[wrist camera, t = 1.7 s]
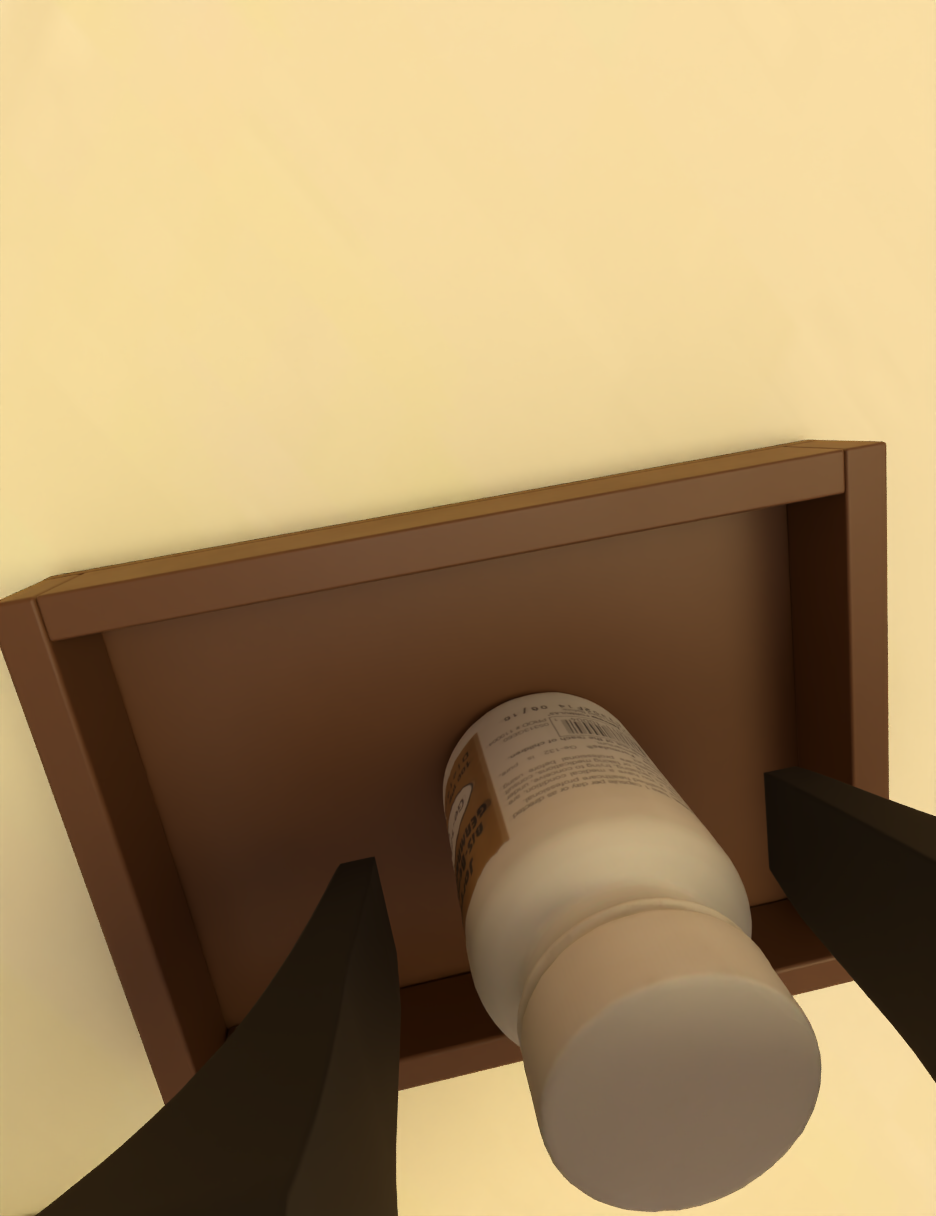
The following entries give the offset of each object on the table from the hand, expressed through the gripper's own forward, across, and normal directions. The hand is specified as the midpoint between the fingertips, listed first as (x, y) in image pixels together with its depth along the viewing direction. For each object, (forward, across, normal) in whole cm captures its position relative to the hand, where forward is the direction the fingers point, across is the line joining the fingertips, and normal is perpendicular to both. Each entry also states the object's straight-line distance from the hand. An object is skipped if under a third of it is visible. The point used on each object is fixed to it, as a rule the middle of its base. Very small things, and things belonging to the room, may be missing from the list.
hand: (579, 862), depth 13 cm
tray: (+3, +1, 0) cm, 4 cm away
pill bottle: (+3, 0, 0) cm, 3 cm away
